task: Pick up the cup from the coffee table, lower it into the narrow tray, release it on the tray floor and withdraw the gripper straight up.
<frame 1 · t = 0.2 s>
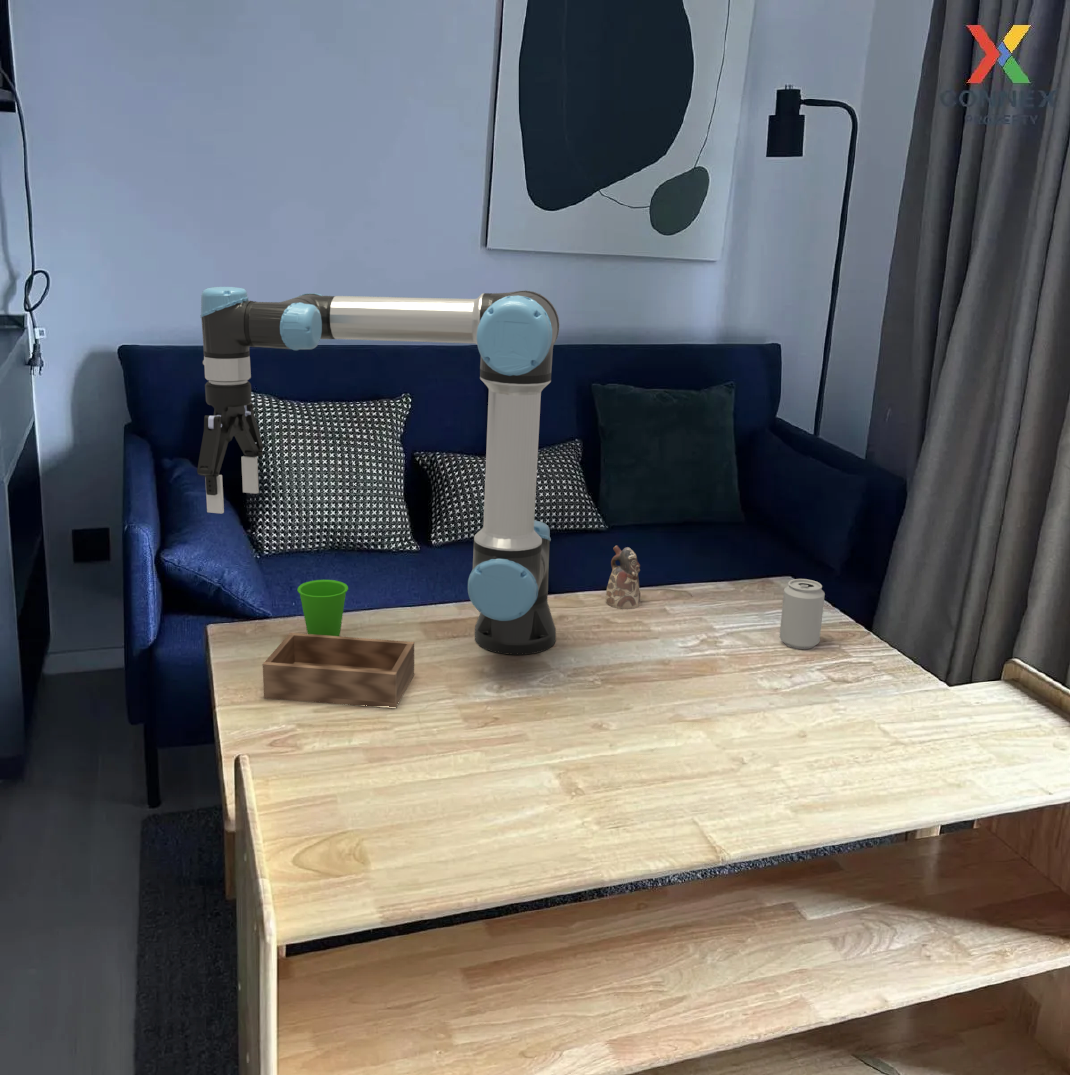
hand: (233, 502, 206), 27 cm above the table, fingers open, 13 cm apart
figurine: (622, 603, 242), on the table
cup: (324, 645, 216), on the table
can: (798, 643, 224), on the table
tray: (341, 685, 199), on the table
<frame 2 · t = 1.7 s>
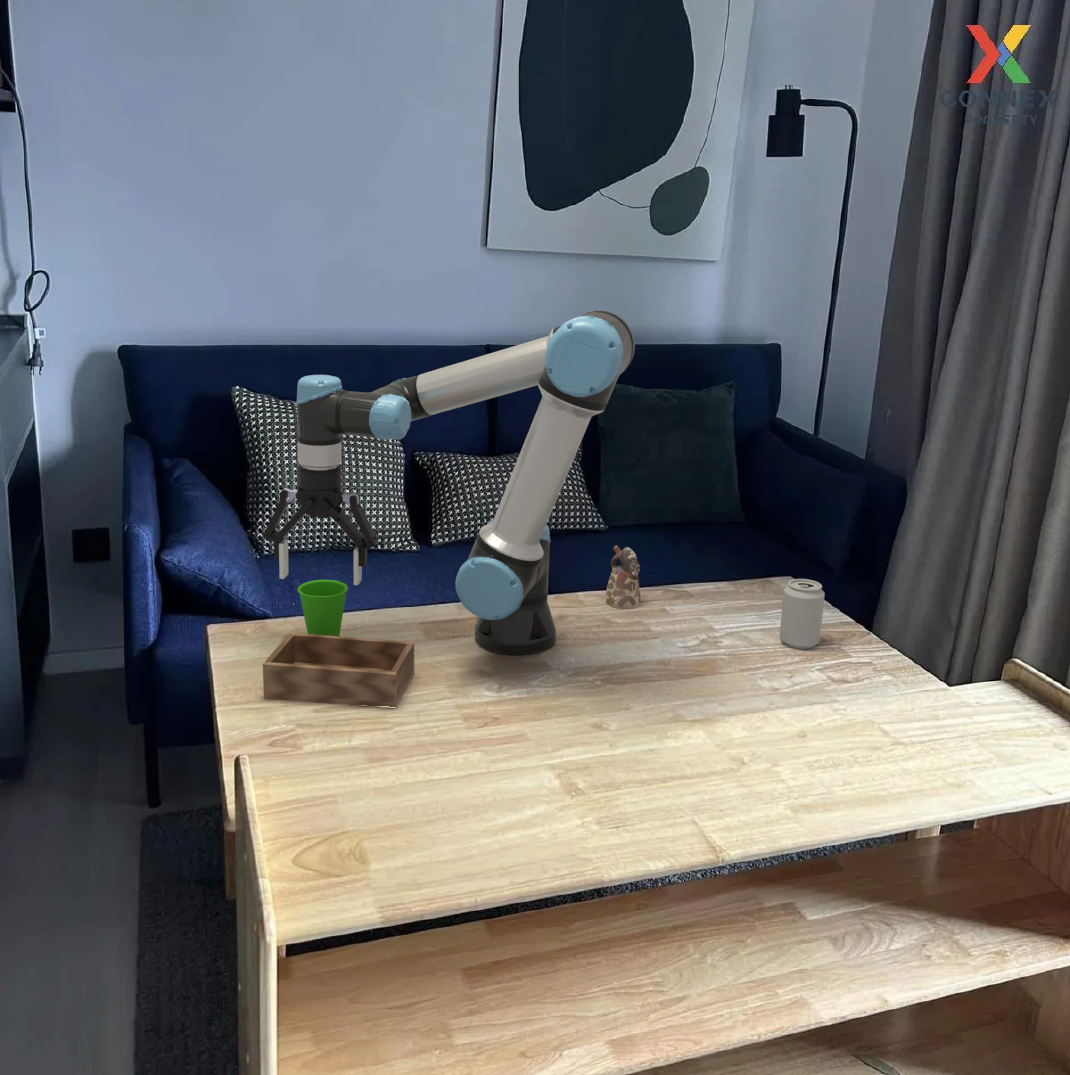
hand: (320, 579, 212), 12 cm above the table, fingers open, 13 cm apart
nothing on the table moved.
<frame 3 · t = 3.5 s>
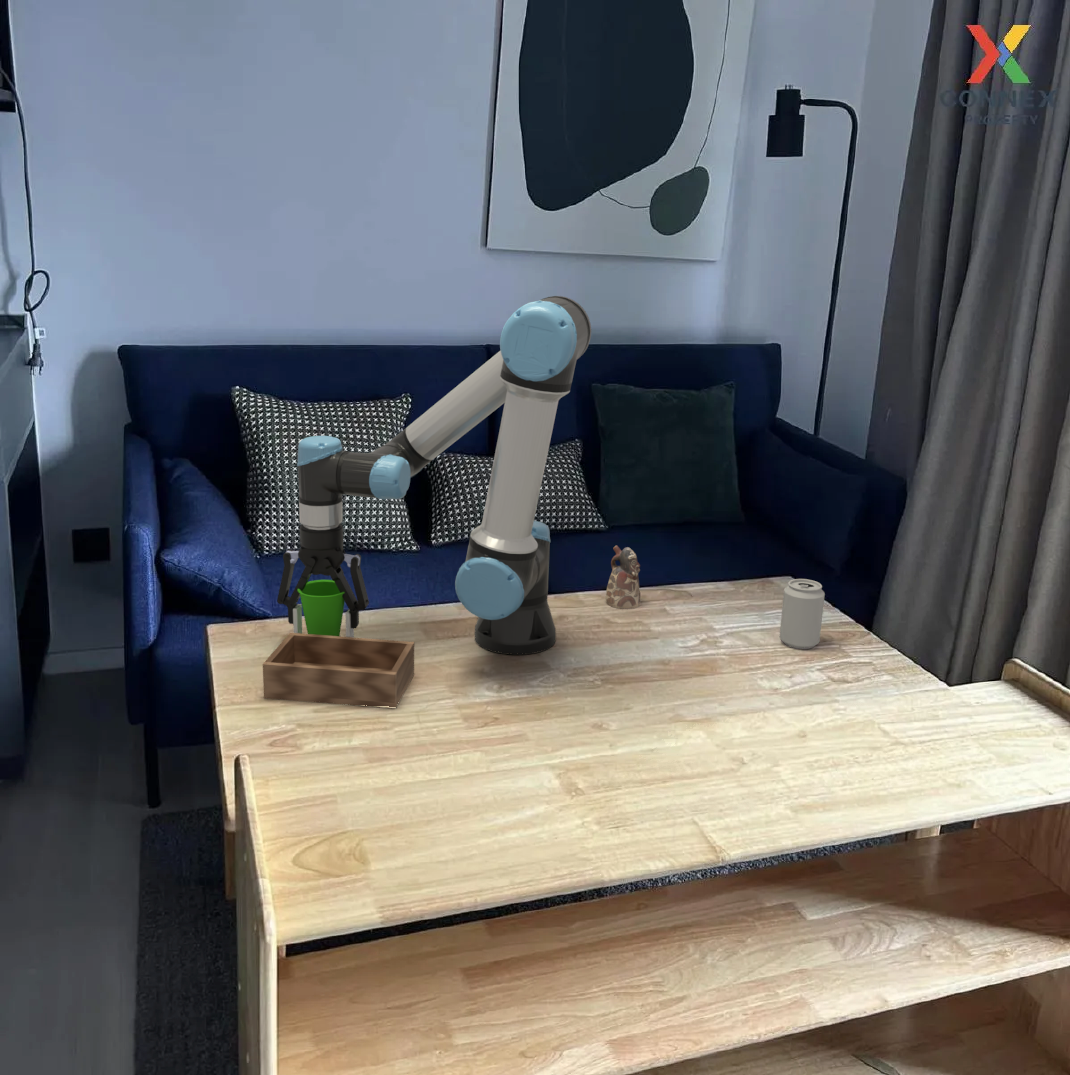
hand: (324, 641, 216), 0 cm above the table, fingers closed on cup, 9 cm apart
cup: (324, 645, 216), on the table, touching gripper
everything else where it was.
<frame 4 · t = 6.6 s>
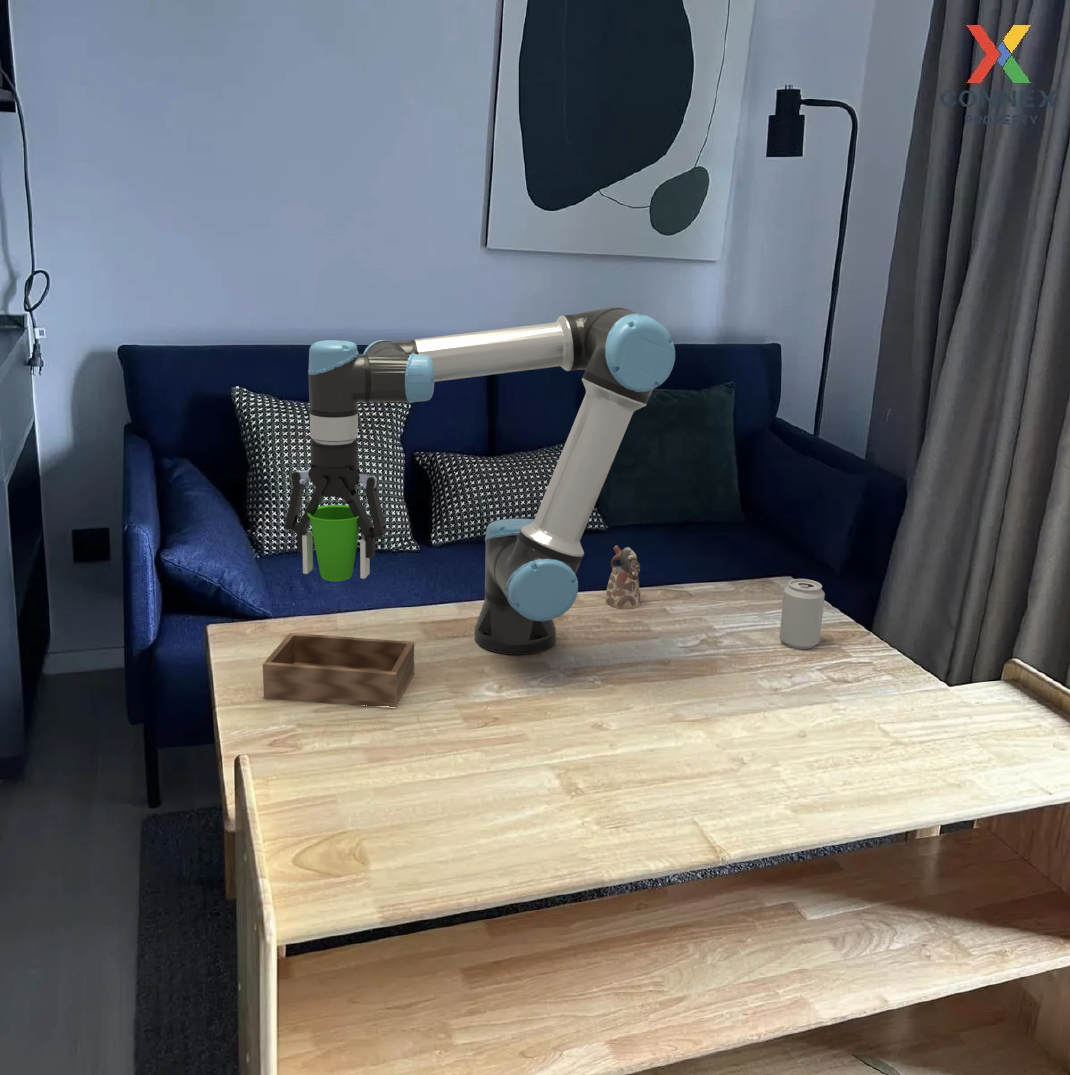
hand: (336, 573, 194), 20 cm above the table, fingers closed on cup, 9 cm apart
cup: (336, 577, 195), point 19 cm above the table, touching gripper
everything else where it was.
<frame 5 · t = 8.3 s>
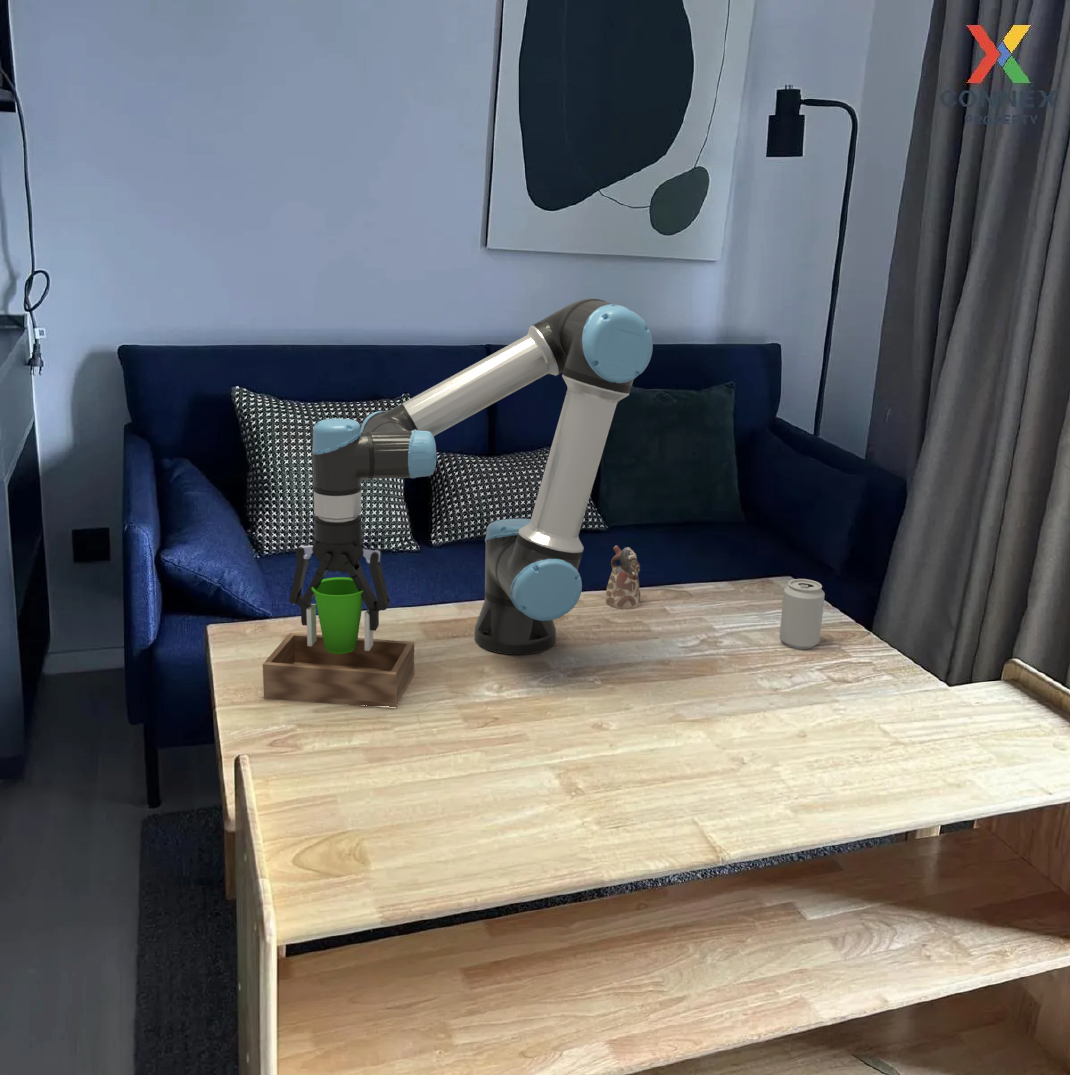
hand: (340, 645, 197), 7 cm above the table, fingers closed on cup, 9 cm apart
cup: (340, 649, 197), point 7 cm above the table, touching gripper
everything else where it was.
when the fingers open (3 cm above the table, at t = 9.7 s): cup drops 1 cm, resting on tray.
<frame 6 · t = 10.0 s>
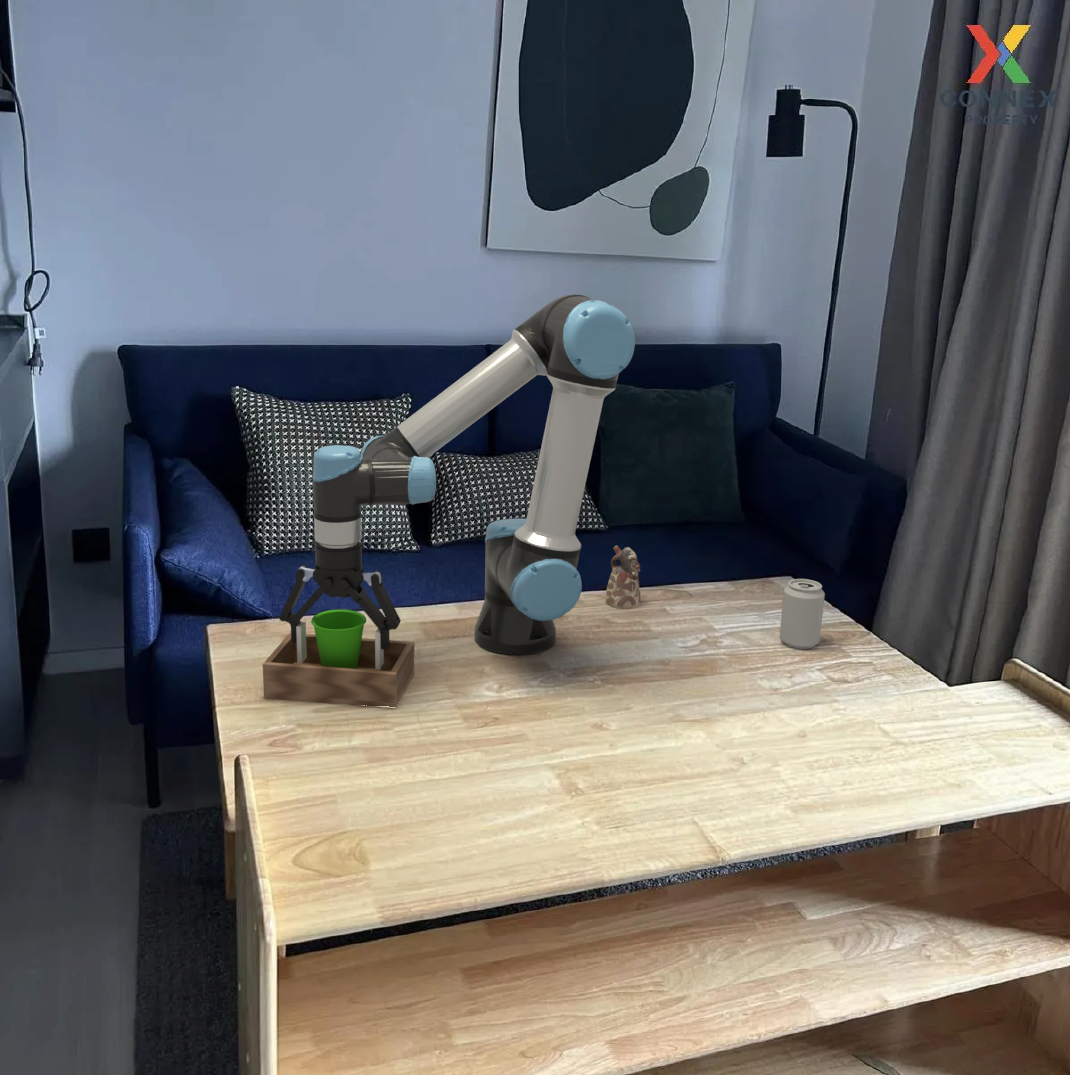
hand: (340, 663, 198), 4 cm above the table, fingers open, 13 cm apart
cup: (340, 681, 199), point 1 cm above the table, touching tray
everything else where it was.
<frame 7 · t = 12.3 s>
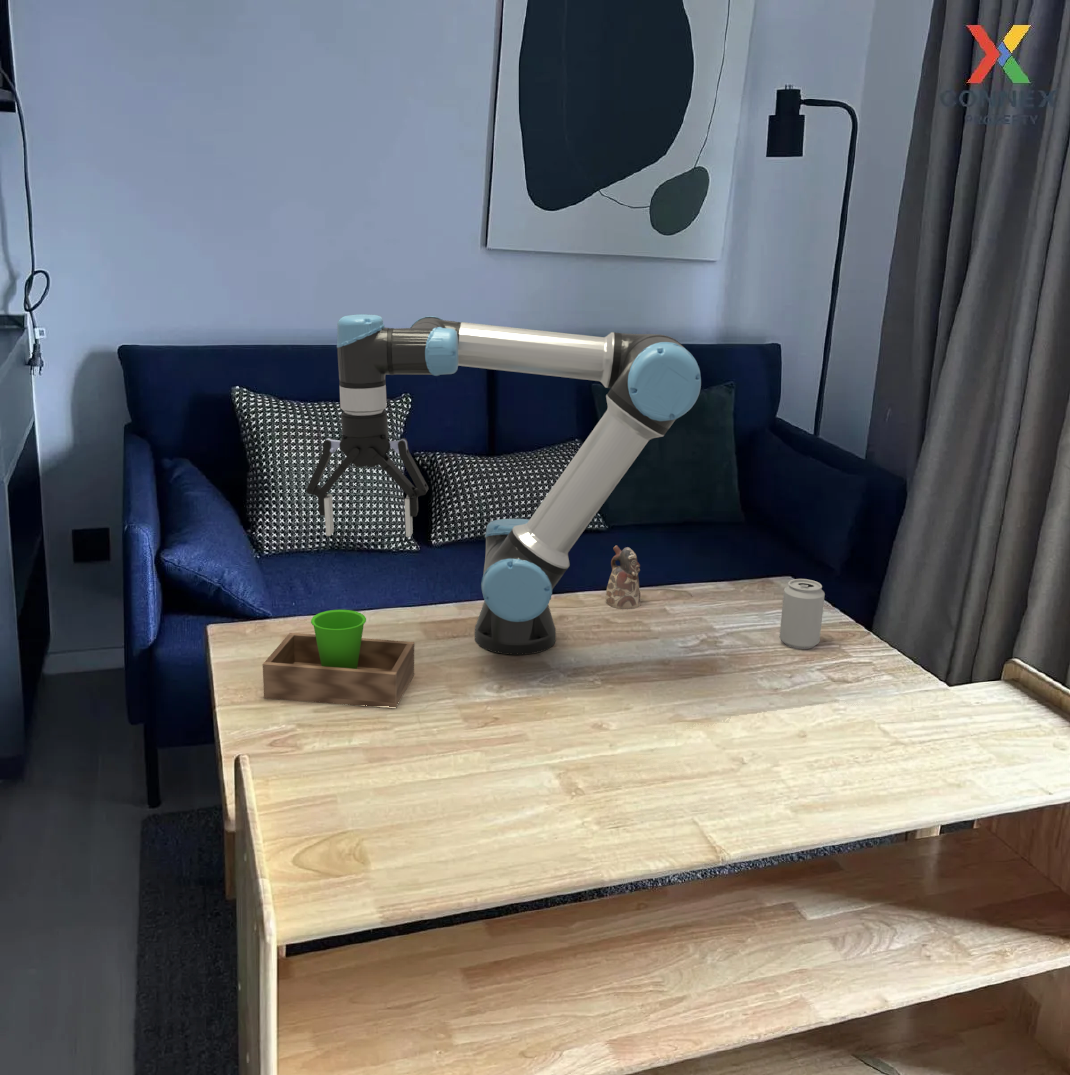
hand: (369, 534, 201), 24 cm above the table, fingers open, 13 cm apart
nothing on the table moved.
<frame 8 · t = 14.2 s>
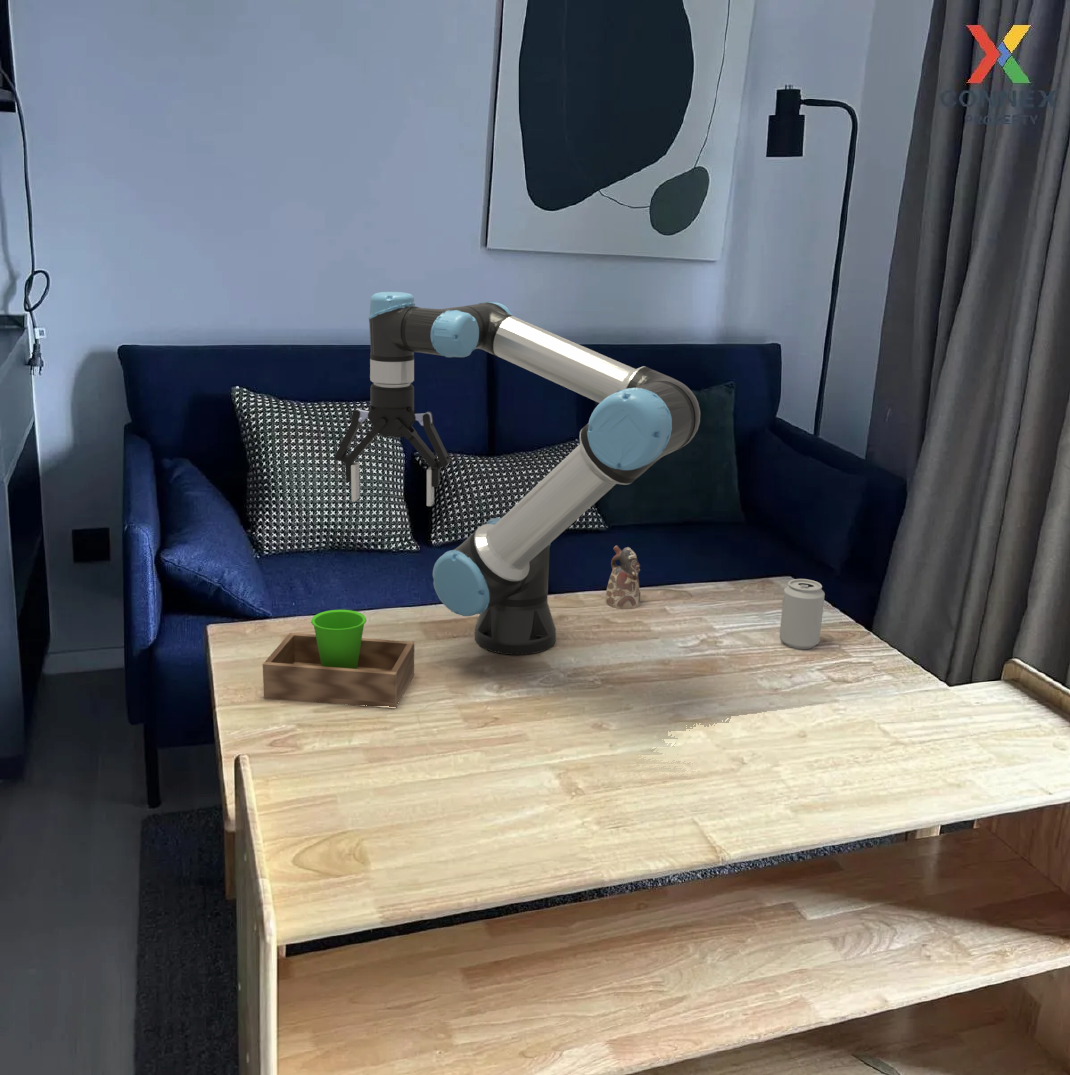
hand: (392, 501, 211), 27 cm above the table, fingers open, 13 cm apart
nothing on the table moved.
at the end: cup inside the target area on the tray (0.2 cm from its centre), point 0.8 cm above the tray's base; cup tilted 0°; cup touching tray; the gripper is holding nothing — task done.
